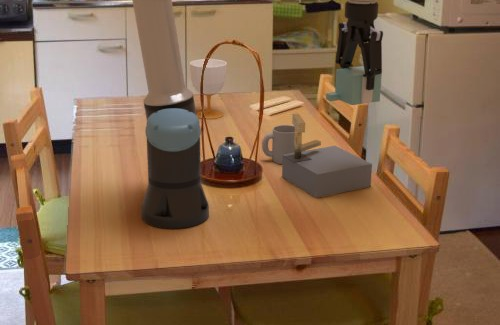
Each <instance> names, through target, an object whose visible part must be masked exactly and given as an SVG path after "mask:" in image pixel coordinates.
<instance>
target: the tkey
mask: <svg viewBox="0 0 500 325" xmlns="http://www.w3.org/2000/svg"><path fill="white" fill-rule="evenodd" d="M291 117H292V122H291V123H292V126H295V143H294V158H301V152H303V151H307V150H312V149H313V148H314V149H315V148H317V147H320V146H321V145H322V141H321V140H318V139H314V140H311V141H307V142H305V143H303V133H306V122H305V120H304V119H303V117H302V116H301V114H300V113H292V116H291Z"/></svg>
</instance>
